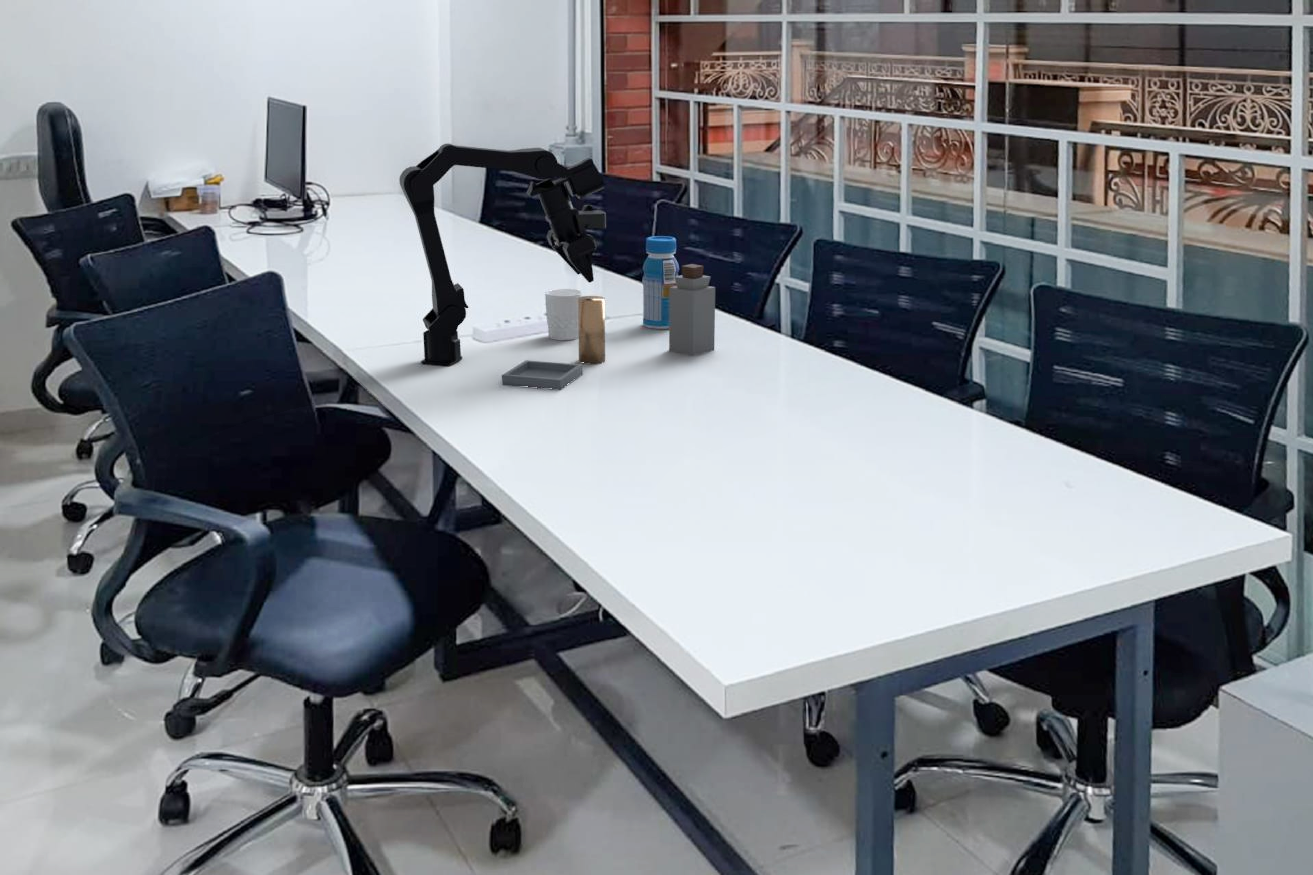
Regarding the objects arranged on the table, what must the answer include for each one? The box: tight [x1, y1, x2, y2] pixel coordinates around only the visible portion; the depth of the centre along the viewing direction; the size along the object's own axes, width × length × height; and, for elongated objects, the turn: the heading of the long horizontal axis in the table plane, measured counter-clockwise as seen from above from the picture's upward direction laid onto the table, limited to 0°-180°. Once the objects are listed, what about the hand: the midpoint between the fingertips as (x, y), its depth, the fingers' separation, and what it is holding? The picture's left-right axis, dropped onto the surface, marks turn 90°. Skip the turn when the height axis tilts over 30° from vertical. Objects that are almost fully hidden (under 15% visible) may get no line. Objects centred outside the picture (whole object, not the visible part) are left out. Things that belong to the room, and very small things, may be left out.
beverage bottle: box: [641, 235, 680, 330], centre depth 311 cm, size 8×8×20 cm
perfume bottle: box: [668, 263, 716, 357], centre depth 290 cm, size 7×7×18 cm
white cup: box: [544, 288, 582, 341], centre depth 302 cm, size 8×8×10 cm
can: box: [577, 295, 606, 365], centre depth 282 cm, size 5×5×13 cm
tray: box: [501, 359, 584, 391], centre depth 269 cm, size 12×12×2 cm
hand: (585, 277), depth 287 cm, fingers open, 9 cm apart
